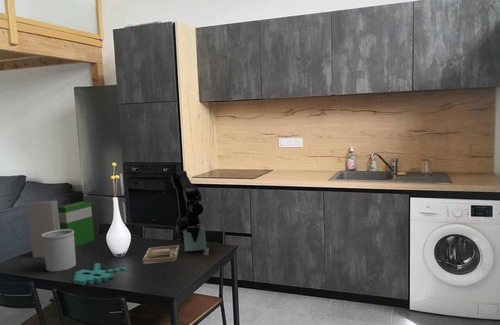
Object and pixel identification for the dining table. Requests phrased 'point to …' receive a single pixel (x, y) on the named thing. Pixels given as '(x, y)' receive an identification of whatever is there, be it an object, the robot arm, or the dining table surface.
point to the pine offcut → (161, 252)
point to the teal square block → (200, 241)
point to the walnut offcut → (158, 256)
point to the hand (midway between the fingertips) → (195, 241)
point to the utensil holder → (59, 249)
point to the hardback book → (77, 221)
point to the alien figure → (94, 275)
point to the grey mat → (206, 252)
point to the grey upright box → (41, 223)
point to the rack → (173, 250)
